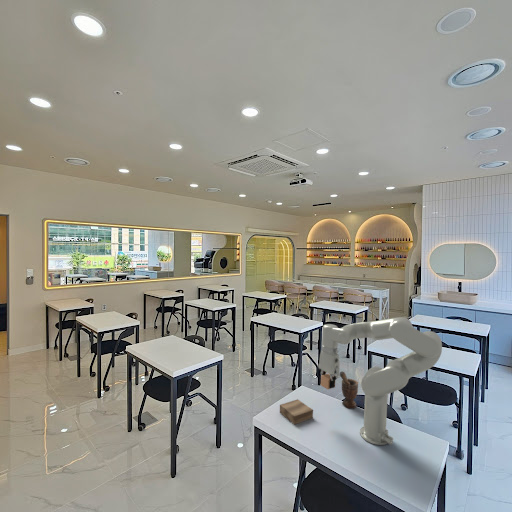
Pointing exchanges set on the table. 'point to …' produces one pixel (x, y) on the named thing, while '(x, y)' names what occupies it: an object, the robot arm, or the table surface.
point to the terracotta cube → (325, 381)
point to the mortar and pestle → (349, 391)
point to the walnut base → (296, 411)
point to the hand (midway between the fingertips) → (327, 384)
